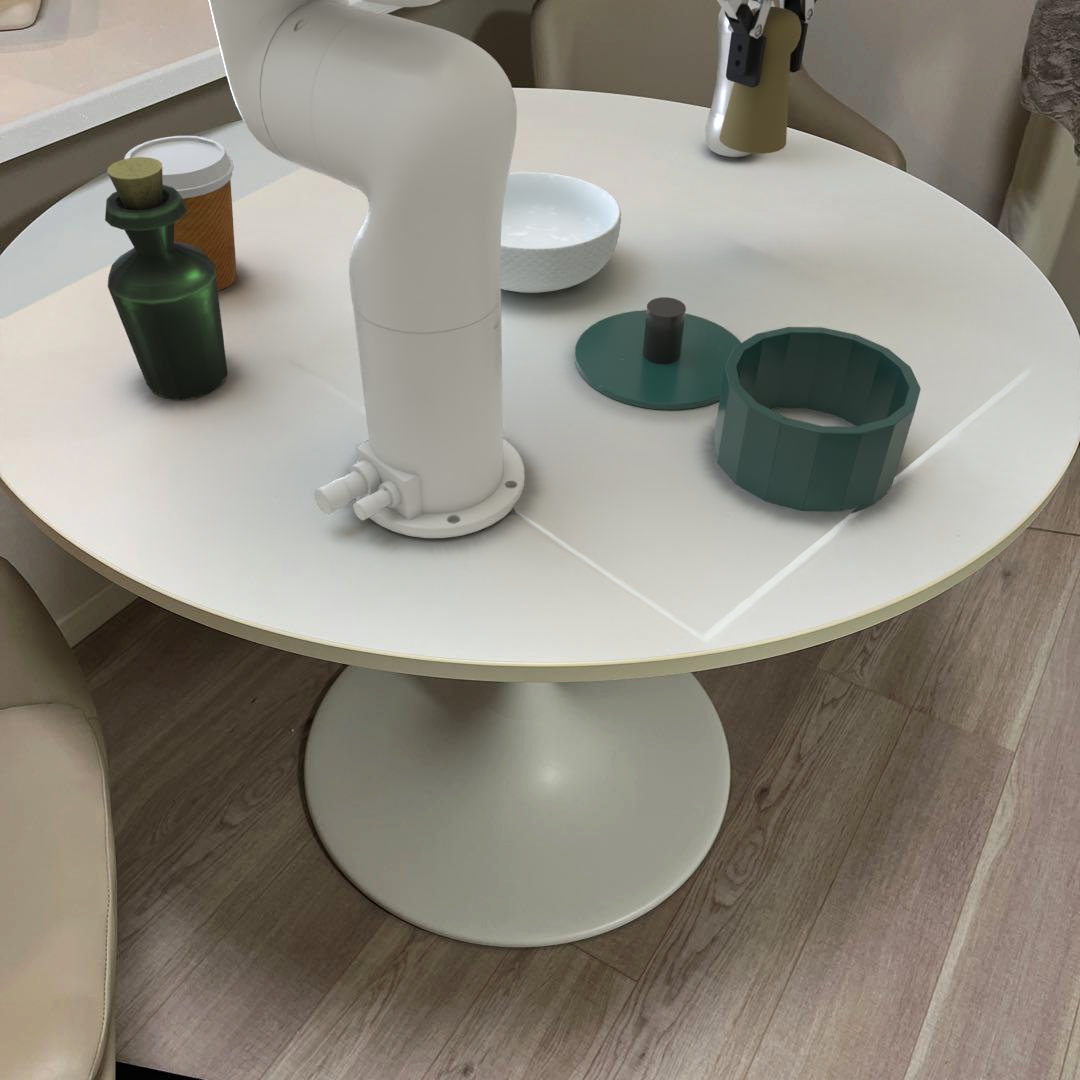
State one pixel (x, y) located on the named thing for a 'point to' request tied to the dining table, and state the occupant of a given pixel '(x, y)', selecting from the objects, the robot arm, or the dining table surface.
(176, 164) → the disposable coffee cup
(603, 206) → the cereal bowl
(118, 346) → the dining table surface
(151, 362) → the potion bottle
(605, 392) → the lid
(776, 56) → the olive brown pawn
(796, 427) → the pot
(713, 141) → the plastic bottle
